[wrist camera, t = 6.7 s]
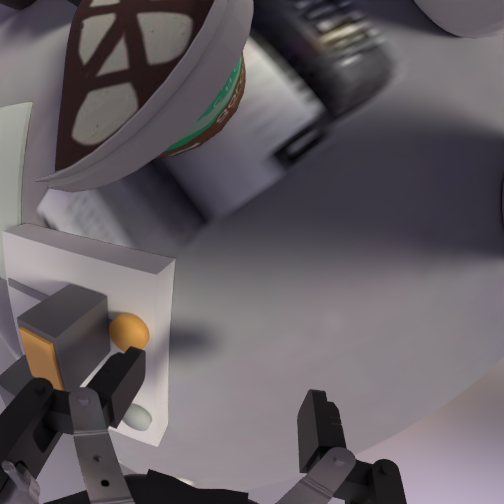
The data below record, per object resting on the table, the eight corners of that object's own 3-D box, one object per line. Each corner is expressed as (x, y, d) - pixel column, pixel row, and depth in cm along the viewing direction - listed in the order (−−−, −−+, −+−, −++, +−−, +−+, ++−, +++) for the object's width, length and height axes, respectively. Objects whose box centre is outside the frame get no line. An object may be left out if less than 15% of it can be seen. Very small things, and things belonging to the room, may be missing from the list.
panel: (175, 258, 18) (150, 280, 14) (168, 423, 22) (154, 453, 18) (27, 223, 18) (-5, 233, 15) (49, 373, 23) (29, 392, 19)
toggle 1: (53, 363, 18) (17, 398, 13) (62, 396, 19) (33, 431, 14) (29, 350, 18) (-6, 380, 13) (39, 383, 19) (10, 414, 14)
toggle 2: (107, 296, 15) (53, 340, 10) (110, 350, 16) (68, 400, 11) (69, 284, 15) (14, 319, 10) (75, 336, 16) (30, 378, 11)
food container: (259, 185, 16) (226, 203, 6) (156, 181, 16) (34, 199, 7) (271, 2, 13) (258, -111, 3) (177, 7, 13) (107, -80, 4)
